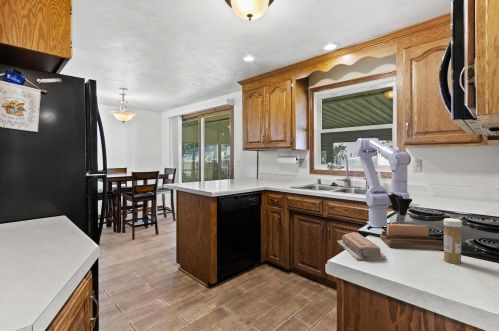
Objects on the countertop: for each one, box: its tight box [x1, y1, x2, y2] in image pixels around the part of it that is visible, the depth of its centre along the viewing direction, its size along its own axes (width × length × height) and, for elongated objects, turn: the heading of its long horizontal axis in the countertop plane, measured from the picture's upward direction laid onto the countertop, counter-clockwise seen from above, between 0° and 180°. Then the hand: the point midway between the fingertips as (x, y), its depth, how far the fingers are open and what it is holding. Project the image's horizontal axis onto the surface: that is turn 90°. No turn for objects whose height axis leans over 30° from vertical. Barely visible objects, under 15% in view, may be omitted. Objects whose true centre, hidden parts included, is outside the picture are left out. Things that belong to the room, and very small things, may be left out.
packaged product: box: [337, 231, 387, 262], centre depth 92 cm, size 18×5×10 cm
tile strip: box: [386, 223, 429, 236], centre depth 100 cm, size 2×14×5 cm, turn 79°
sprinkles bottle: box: [443, 217, 463, 265], centre depth 81 cm, size 5×5×14 cm
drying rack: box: [379, 230, 444, 251], centre depth 97 cm, size 11×18×3 cm, turn 80°
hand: (399, 213), depth 107 cm, fingers open, 7 cm apart
